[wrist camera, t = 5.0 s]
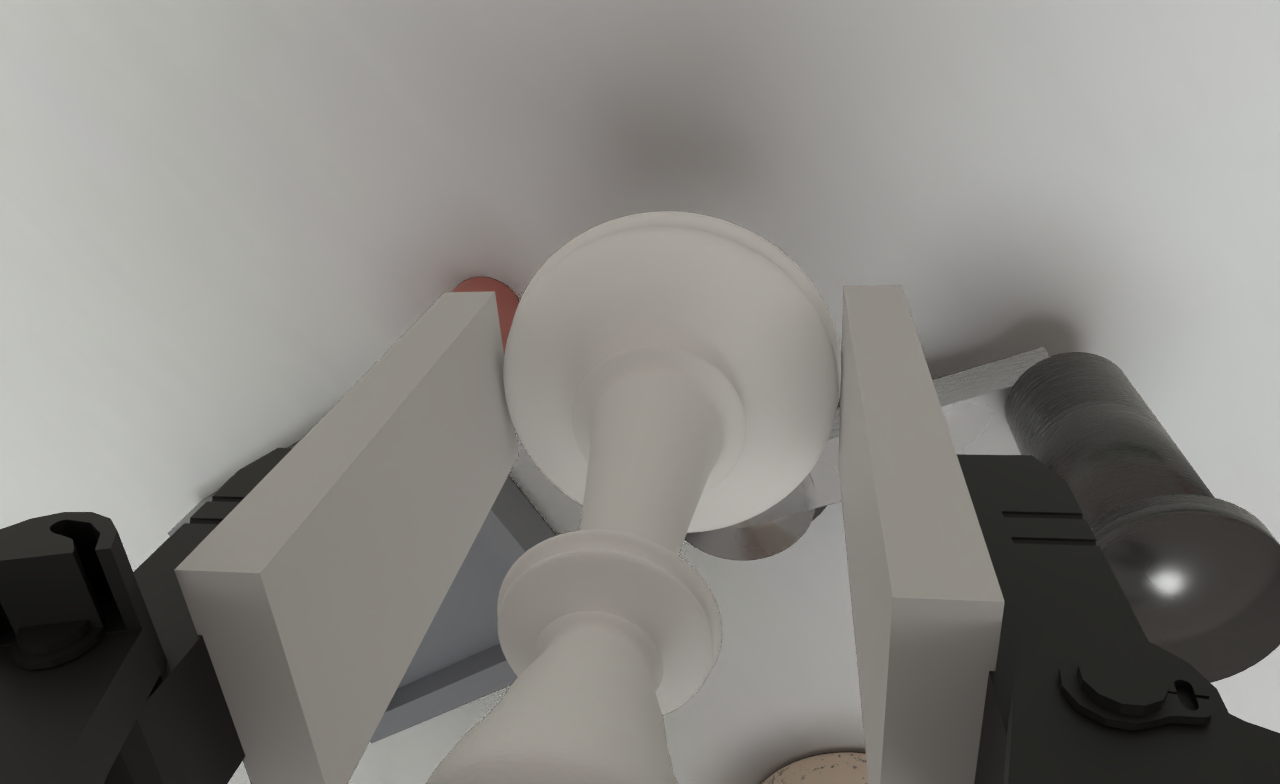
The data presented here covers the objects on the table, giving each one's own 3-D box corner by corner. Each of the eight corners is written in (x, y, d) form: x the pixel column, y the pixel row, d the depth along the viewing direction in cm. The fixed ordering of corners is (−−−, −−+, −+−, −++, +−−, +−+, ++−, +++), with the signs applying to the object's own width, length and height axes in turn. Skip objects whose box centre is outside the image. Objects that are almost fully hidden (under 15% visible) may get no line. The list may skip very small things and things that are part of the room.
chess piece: (842, 511, 14) (946, 1482, 5) (536, 514, 15) (177, 1356, 6) (840, 197, 12) (1007, 939, 3) (482, 222, 13) (-192, 861, 4)
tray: (392, 703, 36) (371, 743, 35) (201, 501, 33) (167, 533, 31) (613, 607, 32) (602, 646, 31) (420, 365, 29) (396, 393, 27)
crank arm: (701, 543, 29) (662, 791, 21) (645, 429, 27) (579, 648, 19) (1144, 425, 25) (1317, 676, 16) (1109, 282, 23) (1282, 480, 15)
